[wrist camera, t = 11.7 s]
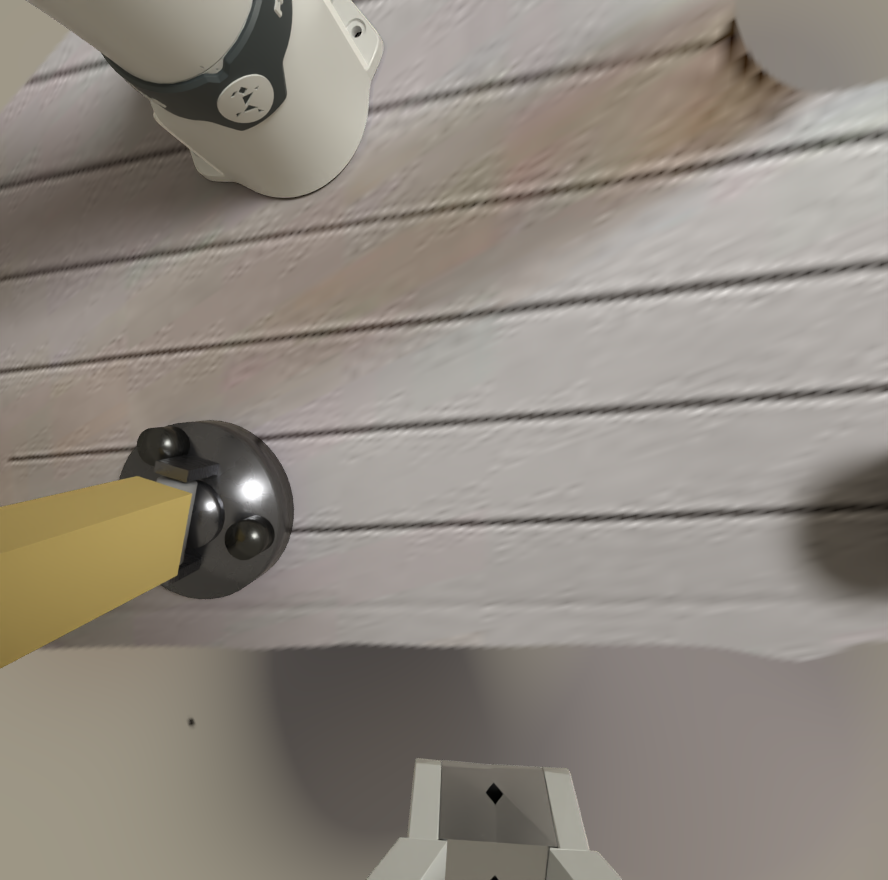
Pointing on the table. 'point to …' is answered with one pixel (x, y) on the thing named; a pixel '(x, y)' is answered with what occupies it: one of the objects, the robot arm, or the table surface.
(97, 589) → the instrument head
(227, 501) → the levelling base
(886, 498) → the table surface
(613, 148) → the table surface
